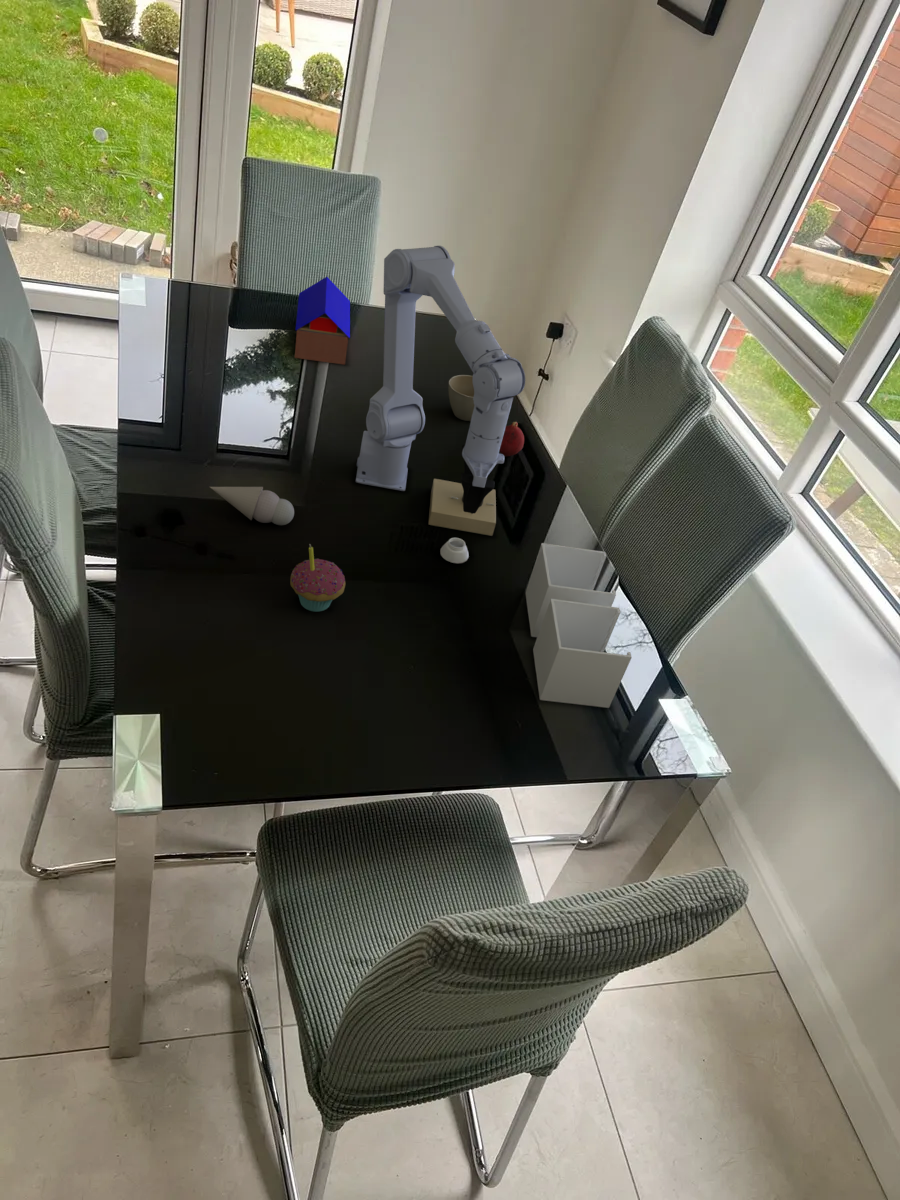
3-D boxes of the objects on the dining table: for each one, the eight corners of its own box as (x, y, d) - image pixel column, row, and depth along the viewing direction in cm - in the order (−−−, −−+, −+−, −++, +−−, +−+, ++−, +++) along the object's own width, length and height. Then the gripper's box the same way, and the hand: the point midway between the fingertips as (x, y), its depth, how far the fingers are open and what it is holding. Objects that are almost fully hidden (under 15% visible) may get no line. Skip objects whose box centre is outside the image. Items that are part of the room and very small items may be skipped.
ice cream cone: (205, 504, 158) (288, 533, 161) (201, 502, 152) (287, 532, 155) (216, 471, 158) (299, 500, 161) (213, 468, 152) (299, 498, 155)
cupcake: (298, 623, 141) (305, 564, 133) (280, 588, 146) (286, 529, 138) (350, 613, 145) (359, 555, 137) (330, 580, 150) (338, 521, 142)
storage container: (525, 592, 157) (541, 542, 150) (586, 601, 159) (605, 552, 152) (539, 699, 138) (559, 648, 131) (608, 707, 140) (631, 657, 133)
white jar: (453, 543, 164) (434, 553, 161) (456, 530, 162) (437, 540, 159) (473, 558, 162) (454, 568, 159) (476, 545, 160) (457, 555, 157)
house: (293, 358, 205) (297, 308, 197) (296, 319, 219) (301, 272, 212) (346, 365, 207) (352, 317, 199) (346, 326, 222) (352, 280, 214)
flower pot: (495, 416, 202) (502, 388, 198) (472, 432, 195) (479, 402, 191) (458, 398, 205) (464, 369, 201) (434, 413, 198) (440, 383, 194)
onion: (517, 466, 188) (526, 433, 183) (490, 459, 188) (499, 425, 183) (521, 453, 193) (530, 420, 187) (494, 445, 193) (503, 412, 188)
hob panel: (428, 524, 167) (431, 510, 165) (431, 491, 175) (434, 477, 173) (492, 536, 168) (496, 522, 166) (492, 502, 176) (495, 488, 174)
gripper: (511, 458, 143) (492, 527, 152) (509, 413, 154) (492, 479, 163) (467, 450, 142) (451, 520, 151) (468, 405, 153) (453, 472, 162)
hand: (469, 498), depth 157 cm, fingers open, 7 cm apart
